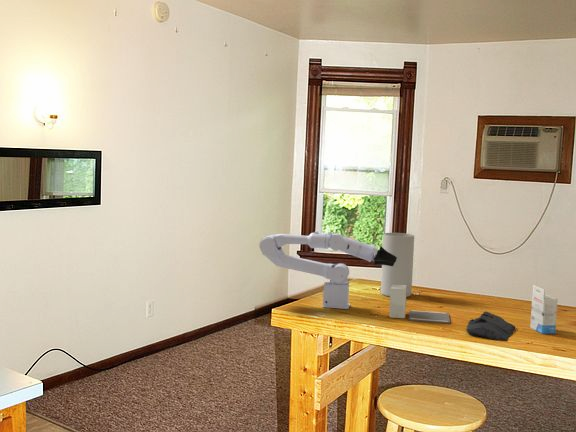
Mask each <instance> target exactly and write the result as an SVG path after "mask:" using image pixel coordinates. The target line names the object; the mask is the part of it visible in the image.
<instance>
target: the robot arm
mask: <svg viewBox="0 0 576 432" xmlns="http://www.w3.org/2000/svg"><path fill="white" fill-rule="evenodd" d="M285 245H308V246H309V248H311V249H321V250H322V249H323V250H324V249H325V250H326V249H327V250H328V249H329V248H330V249H331V250H332V251H335V252H337V251H340V252H343V253H345V254H348V255H349V256H353V257H356V258H359V259H360V260H361V259H362V260H365V261H368V262H369V263H371V261H372V262H374V264H373V266H382V265H387V266H393V265H394V263H395V262H396V259H397V257H396V256H394V255H392V254H391V253H389V252H387V251H386V250H385V249H384V248H383V245H382V246H381V245H380V247H379V249H378V248H376V247H377V243H374V244H373V245H370V244H368V243H365V242H362V241H359V240H356V239H354V238H349V237H348V236H347V237H346V236H343V234H341V233H339V232H333V233H332V232H330V231H329V232H325V233H322V232H319V231H316V230H315V231H314V232H311V233H310V234H309V235H301V234H291V233H290V234H289V233H276V234H271V233H270V234H269V235H267V236H265V237H263V238H262V239H261V240H260V241H259V245H258V246H259V250H260V252H261V254H262V255H263V256H264V257H266V258H267V259H268V260H269V261H270V262H271V263H272V264H274V265H275V266H276V267H279V268H283V269H288V270H291V271H292V270H293V271H298V272H302V273H305V274H306V273H307V274H311V275H314V276H315V275H317V276H320V277H322V278H325V279H327V280H329V281H327V282H324V283H323V292H322V293H323V294H322V295H323V296H322V308H328V309H340V310H341V309H342V310H349V308H350V307H351V303H350V302H349V295H350V293H349V291H350V281H349V280H348V277H349V275H350V269H349V266H347V265H346V264H345V263H325V262H320V261H315V260H311V259H306V258H301V257H297V256H293V255H288V254H285V251H284V250H283V248H282V247H283V246H285Z"/></svg>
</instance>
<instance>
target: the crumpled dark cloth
mask: <svg viewBox="0 0 576 432" xmlns="http://www.w3.org/2000/svg"><path fill="white" fill-rule="evenodd" d="M515 330H516V326H515V325H514V324H512V323H509V322H508V321H506V320H505V319H504V318H503V317H501V316H499V315H497V314H494V313H492V312H489V311H484V312H483V313H482V314H480V316H479V317H477V318H475V319H474V318H472V319H469V321H468V324H467V325H466V329H465V331H466V333H467V334H469V335H471V336H475V337H476V336H477V337H481V338H484V339H485V338H486V339H490V340H495V341H501V342H508V341H509V337H510V338H511V337H512V335H513V334H514V331H515ZM512 333H513V334H512Z"/></svg>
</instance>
